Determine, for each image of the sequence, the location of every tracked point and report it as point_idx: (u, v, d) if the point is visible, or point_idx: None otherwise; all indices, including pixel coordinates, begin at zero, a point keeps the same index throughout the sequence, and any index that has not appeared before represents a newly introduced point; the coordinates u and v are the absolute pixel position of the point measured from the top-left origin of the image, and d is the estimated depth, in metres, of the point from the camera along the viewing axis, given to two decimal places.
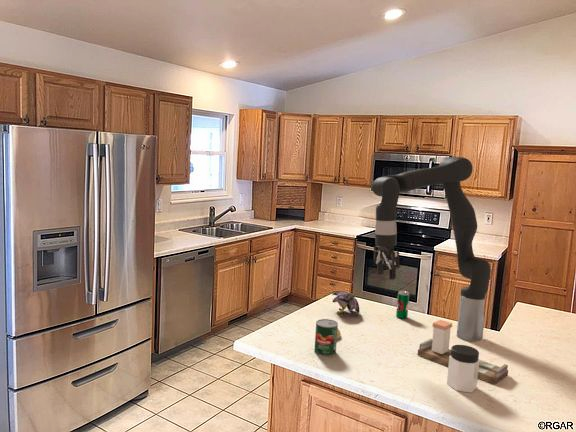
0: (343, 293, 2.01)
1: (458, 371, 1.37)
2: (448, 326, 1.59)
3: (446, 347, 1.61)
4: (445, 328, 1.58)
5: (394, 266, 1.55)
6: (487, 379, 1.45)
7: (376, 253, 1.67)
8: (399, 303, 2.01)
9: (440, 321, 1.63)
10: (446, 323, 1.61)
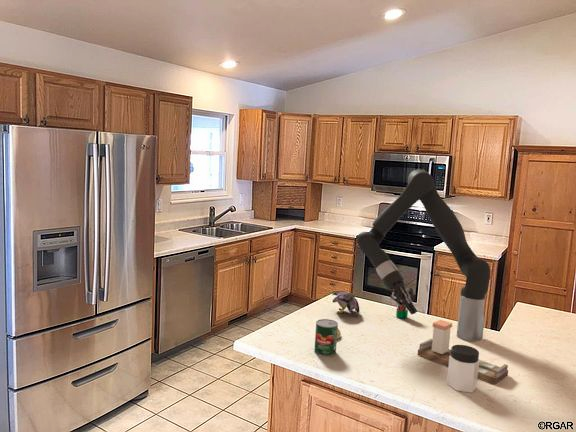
0: (343, 293, 2.01)
1: (458, 371, 1.37)
2: (448, 326, 1.59)
3: (446, 347, 1.61)
4: (445, 328, 1.58)
5: (401, 304, 1.69)
6: (487, 379, 1.45)
7: None
8: None
9: (440, 321, 1.63)
10: (446, 323, 1.61)
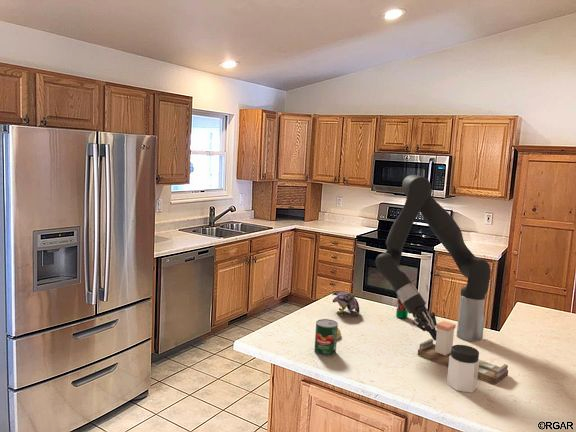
0: (343, 293, 2.01)
1: (458, 371, 1.37)
2: (452, 327, 1.58)
3: (450, 349, 1.60)
4: (449, 329, 1.57)
5: (424, 330, 1.63)
6: (487, 379, 1.45)
7: None
8: (399, 303, 2.01)
9: (443, 322, 1.62)
10: (449, 324, 1.60)
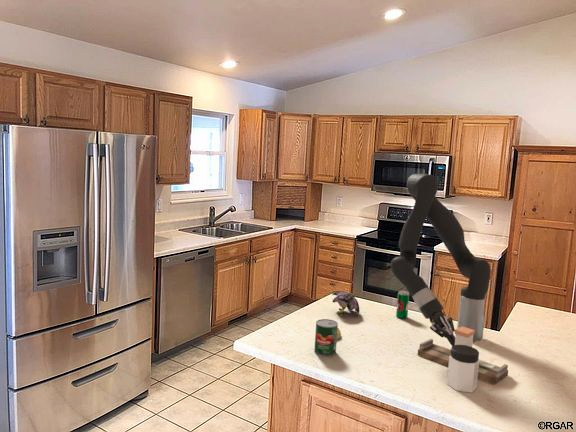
0: (343, 293, 2.01)
1: (458, 371, 1.37)
2: (471, 333, 1.53)
3: None
4: (468, 335, 1.52)
5: (442, 336, 1.58)
6: (487, 379, 1.45)
7: None
8: (399, 303, 2.01)
9: (462, 328, 1.57)
10: (468, 330, 1.55)
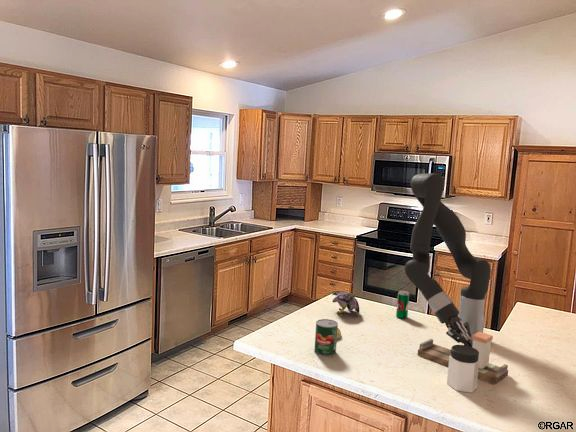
0: (343, 293, 2.01)
1: (458, 371, 1.37)
2: (489, 339, 1.49)
3: (486, 361, 1.51)
4: (486, 341, 1.48)
5: (458, 341, 1.54)
6: (487, 379, 1.45)
7: None
8: (399, 303, 2.01)
9: (479, 333, 1.52)
10: (486, 335, 1.50)
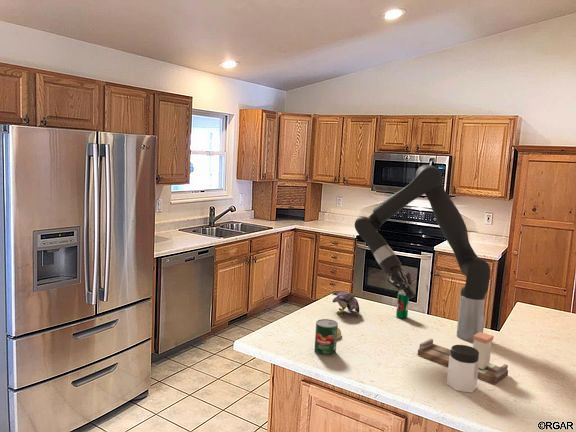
0: (343, 293, 2.01)
1: (458, 371, 1.37)
2: (490, 339, 1.49)
3: (487, 362, 1.51)
4: (487, 341, 1.47)
5: (399, 288, 1.70)
6: (487, 379, 1.45)
7: None
8: (399, 303, 2.01)
9: (480, 333, 1.52)
10: (487, 336, 1.50)
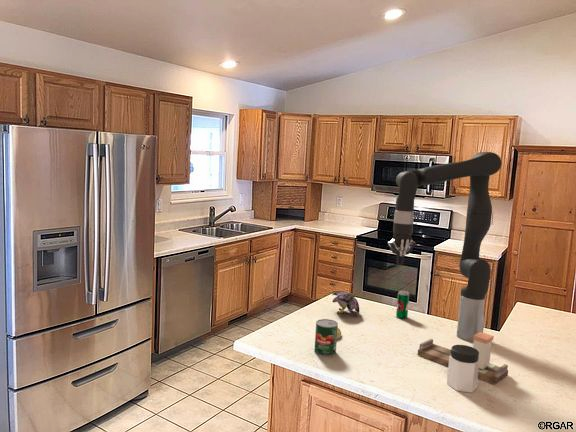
0: (343, 293, 2.01)
1: (458, 371, 1.37)
2: (490, 339, 1.49)
3: (487, 362, 1.51)
4: (487, 341, 1.47)
5: (393, 252, 1.78)
6: (487, 379, 1.45)
7: (408, 245, 1.81)
8: (399, 303, 2.01)
9: (480, 333, 1.52)
10: (487, 336, 1.50)
